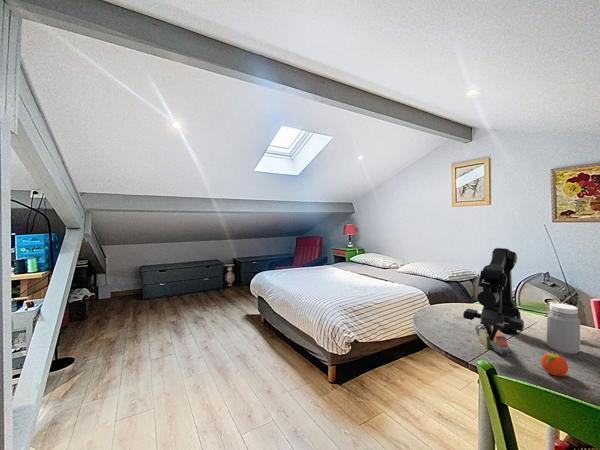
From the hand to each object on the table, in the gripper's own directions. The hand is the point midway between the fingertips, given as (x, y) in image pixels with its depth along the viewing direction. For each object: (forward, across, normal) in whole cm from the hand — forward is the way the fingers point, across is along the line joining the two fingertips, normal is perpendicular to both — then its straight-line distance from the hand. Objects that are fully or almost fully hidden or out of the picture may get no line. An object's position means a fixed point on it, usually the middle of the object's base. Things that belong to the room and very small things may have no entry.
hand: (491, 340), depth 105 cm
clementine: (+6, +18, 0) cm, 19 cm away
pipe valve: (+6, -2, +11) cm, 13 cm away
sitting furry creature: (+6, -8, +50) cm, 51 cm away
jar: (+6, +20, +27) cm, 34 cm away
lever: (+1, +1, +5) cm, 5 cm away
